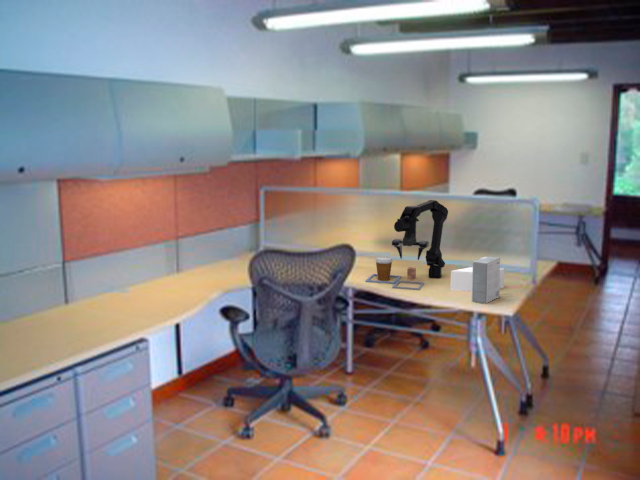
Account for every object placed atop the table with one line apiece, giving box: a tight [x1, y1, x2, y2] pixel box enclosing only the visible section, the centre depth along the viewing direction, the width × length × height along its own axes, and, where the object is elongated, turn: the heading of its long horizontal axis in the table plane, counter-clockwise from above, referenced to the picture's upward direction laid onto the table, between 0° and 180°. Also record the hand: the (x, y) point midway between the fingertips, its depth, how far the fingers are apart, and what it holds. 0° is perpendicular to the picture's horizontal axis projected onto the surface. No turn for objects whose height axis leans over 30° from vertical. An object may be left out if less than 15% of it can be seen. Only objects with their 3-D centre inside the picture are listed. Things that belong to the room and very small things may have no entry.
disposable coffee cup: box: [374, 256, 393, 282], centre depth 349 cm, size 10×10×12 cm
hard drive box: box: [471, 255, 501, 305], centre depth 306 cm, size 16×8×20 cm, turn 141°
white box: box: [450, 266, 506, 292], centre depth 328 cm, size 14×29×10 cm, turn 98°
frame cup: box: [364, 273, 403, 285], centre depth 350 cm, size 16×16×1 cm
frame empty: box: [391, 280, 426, 291], centre depth 336 cm, size 14×14×1 cm
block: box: [406, 266, 417, 281], centre depth 352 cm, size 4×4×6 cm
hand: (409, 259), depth 338 cm, fingers open, 9 cm apart
